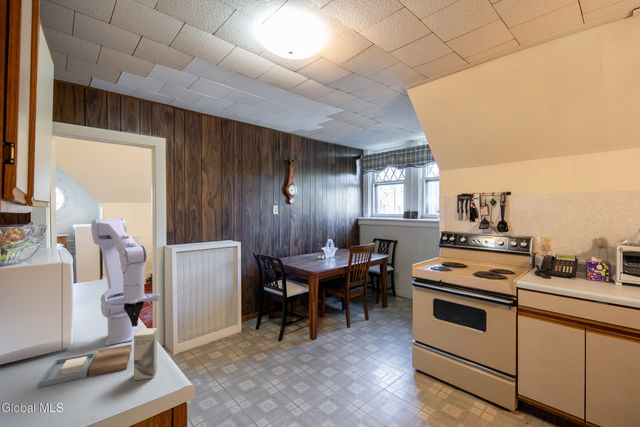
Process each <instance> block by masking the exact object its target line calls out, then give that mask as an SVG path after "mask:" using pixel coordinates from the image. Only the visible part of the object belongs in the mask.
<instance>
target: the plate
mask: <svg viewBox="0 0 640 427" xmlns="http://www.w3.org/2000/svg"><path fill="white" fill-rule="evenodd" d="M131 354H132V344H127V345H121V346H116V347H110V348H105V349H99V350H97V352H96V356H95V358H94V360H93V362H92V364H91V366H90V369H89V374H88V377H89V378H90V377H95V376H96V377H97V376H99V375H105V374H110V373H114V372H119V371H123V370H127V368H128V365H129V361H130V358H131Z"/></svg>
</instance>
